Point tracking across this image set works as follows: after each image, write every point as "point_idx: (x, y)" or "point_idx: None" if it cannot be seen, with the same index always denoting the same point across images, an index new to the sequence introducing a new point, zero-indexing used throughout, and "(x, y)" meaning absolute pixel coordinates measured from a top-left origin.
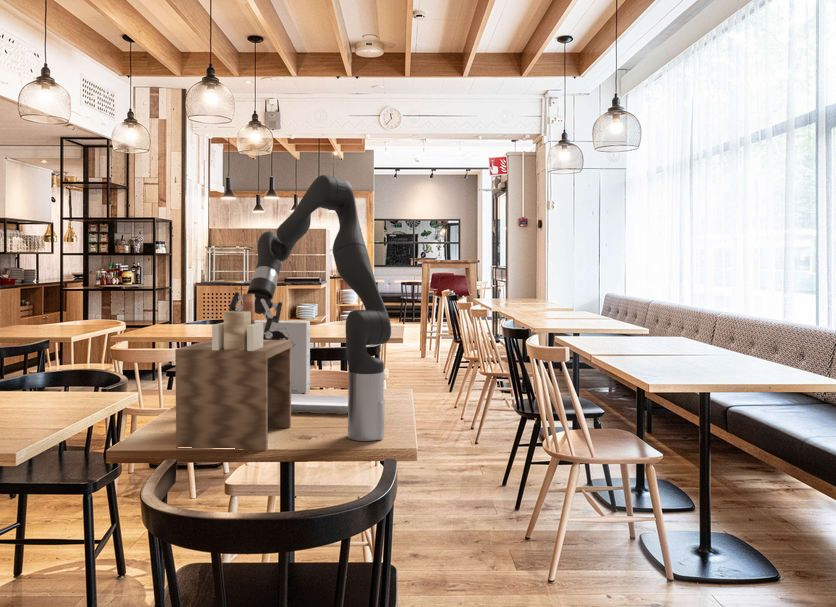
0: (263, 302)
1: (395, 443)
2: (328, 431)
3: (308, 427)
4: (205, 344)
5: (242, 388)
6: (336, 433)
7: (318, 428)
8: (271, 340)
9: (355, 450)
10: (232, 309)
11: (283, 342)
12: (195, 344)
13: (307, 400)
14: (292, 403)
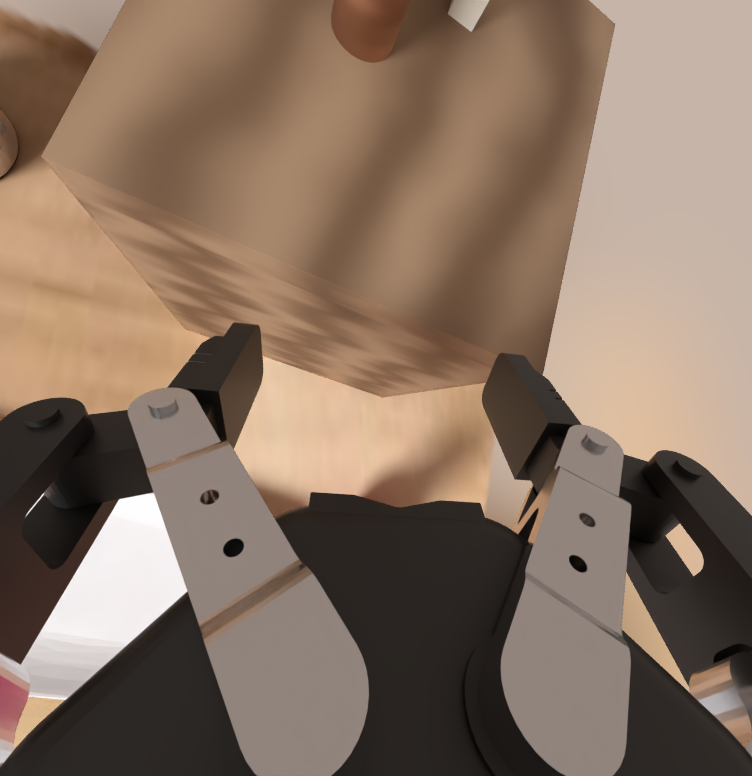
0: (275, 609)
1: None
2: (71, 242)
3: (131, 306)
4: (545, 133)
5: None
6: (48, 212)
7: (99, 285)
8: (214, 186)
9: (27, 31)
10: (634, 460)
11: (130, 35)
12: (578, 151)
13: (76, 655)
14: (146, 622)
